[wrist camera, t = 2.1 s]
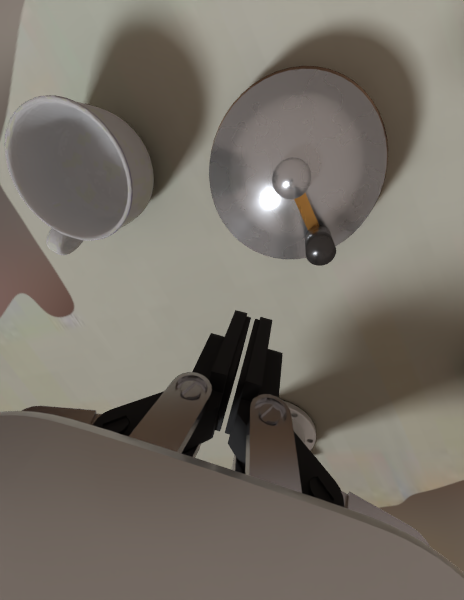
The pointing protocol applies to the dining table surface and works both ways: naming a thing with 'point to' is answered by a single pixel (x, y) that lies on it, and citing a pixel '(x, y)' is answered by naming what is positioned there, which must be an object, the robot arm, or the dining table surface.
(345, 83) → the handwheel
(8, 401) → the dining table surface
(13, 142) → the teacup
